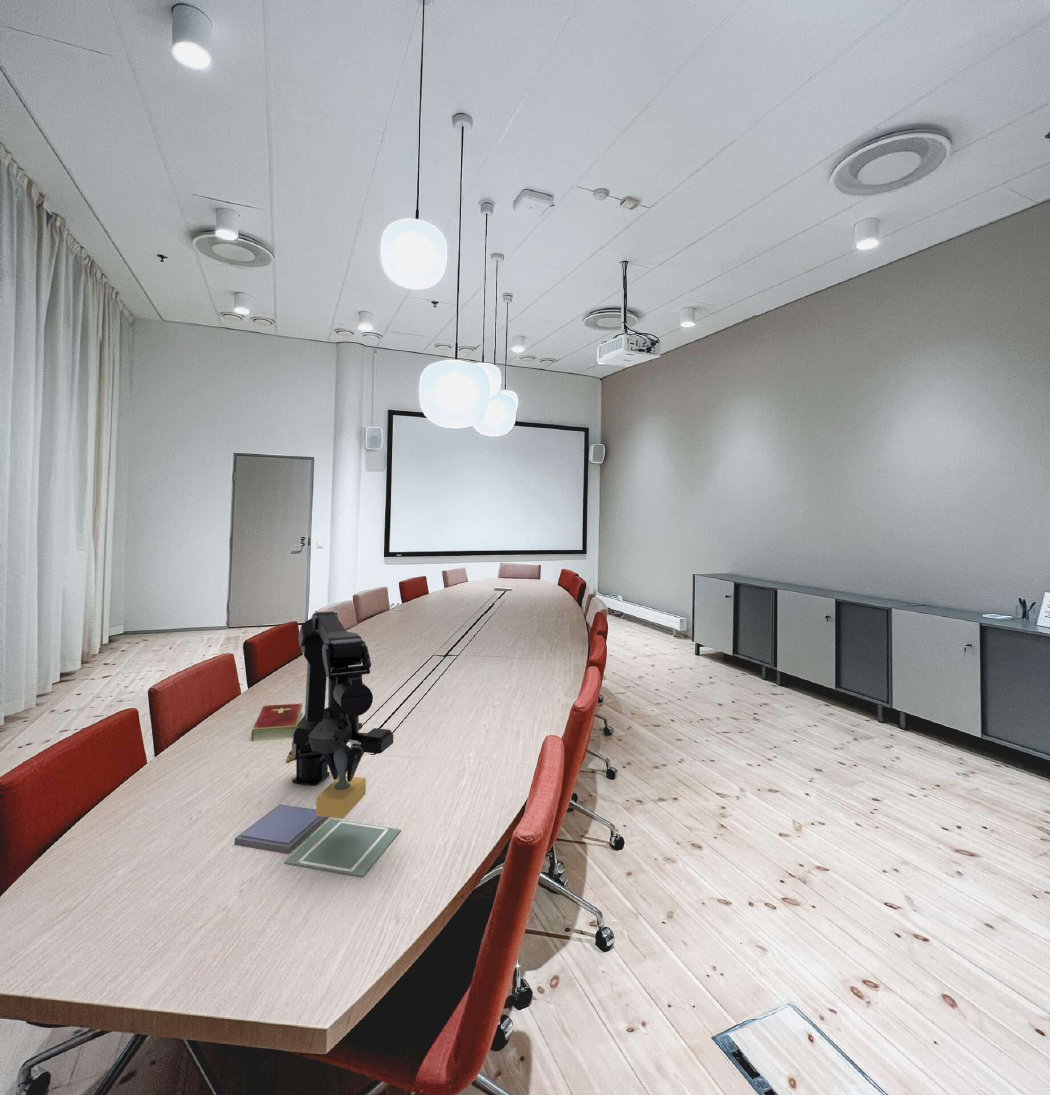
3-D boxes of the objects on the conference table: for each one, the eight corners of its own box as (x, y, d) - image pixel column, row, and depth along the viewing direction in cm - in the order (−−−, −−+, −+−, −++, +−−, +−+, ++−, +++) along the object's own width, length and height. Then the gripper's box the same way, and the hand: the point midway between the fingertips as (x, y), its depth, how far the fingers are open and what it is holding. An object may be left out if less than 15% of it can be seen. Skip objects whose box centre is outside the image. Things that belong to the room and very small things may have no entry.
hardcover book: (251, 742, 164) (251, 728, 164) (262, 717, 184) (262, 704, 184) (296, 739, 167) (296, 725, 167) (302, 715, 188) (302, 702, 187)
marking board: (284, 863, 107) (284, 861, 107) (331, 820, 123) (331, 818, 123) (363, 877, 104) (363, 875, 104) (401, 831, 119) (401, 829, 119)
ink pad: (234, 844, 113) (234, 836, 113) (279, 809, 127) (279, 802, 127) (289, 853, 110) (289, 845, 110) (329, 817, 124) (329, 810, 124)
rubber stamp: (344, 819, 108) (345, 756, 107) (314, 816, 108) (316, 753, 108) (366, 795, 117) (367, 736, 117) (339, 792, 118) (340, 734, 118)
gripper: (274, 708, 106) (274, 792, 107) (367, 718, 102) (366, 805, 103) (310, 692, 117) (309, 767, 118) (395, 700, 113) (394, 779, 114)
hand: (342, 779), depth 113 cm, fingers closed on rubber stamp, 3 cm apart
